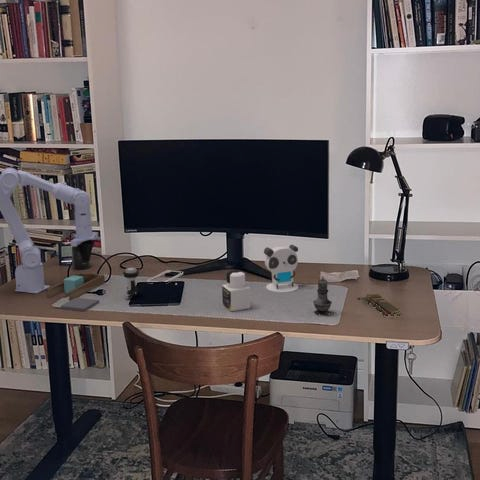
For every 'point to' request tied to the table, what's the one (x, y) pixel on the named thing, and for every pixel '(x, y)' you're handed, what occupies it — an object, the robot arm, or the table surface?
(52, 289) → the channel
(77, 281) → the block
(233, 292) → the medicine bottle
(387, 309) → the olive brown jagged slab
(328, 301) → the dark grey chess piece
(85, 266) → the supplement bottle
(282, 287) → the panda figurine
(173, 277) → the phone case
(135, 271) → the push button
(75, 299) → the pad
